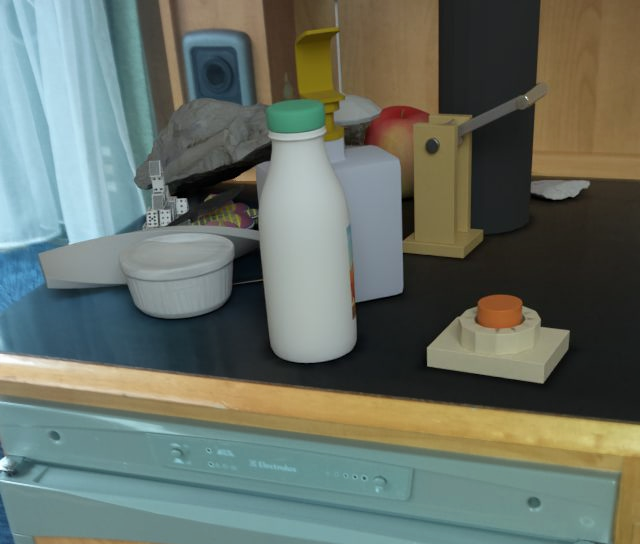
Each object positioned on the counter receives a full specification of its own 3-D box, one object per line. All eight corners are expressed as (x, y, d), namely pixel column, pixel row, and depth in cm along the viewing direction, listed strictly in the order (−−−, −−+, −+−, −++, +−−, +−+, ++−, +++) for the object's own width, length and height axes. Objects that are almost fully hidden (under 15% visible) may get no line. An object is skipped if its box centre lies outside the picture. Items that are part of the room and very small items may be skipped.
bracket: (483, 240, 109) (486, 114, 101) (463, 258, 105) (465, 128, 97) (423, 235, 112) (422, 111, 104) (401, 252, 108) (398, 125, 100)
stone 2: (522, 189, 122) (523, 172, 121) (584, 185, 122) (586, 168, 120) (528, 208, 118) (529, 191, 117) (592, 203, 118) (594, 186, 116)
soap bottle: (286, 318, 94) (260, 41, 81) (266, 295, 100) (238, 31, 86) (406, 295, 97) (400, 22, 83) (380, 274, 102) (371, 14, 89)
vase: (529, 235, 109) (546, -94, 92) (435, 236, 111) (435, -86, 93) (528, 206, 117) (544, -101, 100) (441, 208, 119) (442, -94, 102)
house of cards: (215, 238, 115) (205, 169, 111) (140, 243, 116) (128, 174, 111) (222, 215, 123) (214, 148, 118) (152, 219, 123) (141, 153, 119)
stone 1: (265, 157, 109) (252, 57, 106) (115, 199, 128) (101, 115, 125) (356, 158, 119) (346, 66, 116) (204, 196, 138) (192, 119, 136)
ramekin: (234, 276, 105) (228, 225, 102) (246, 315, 96) (240, 260, 93) (127, 290, 104) (117, 239, 101) (128, 331, 95) (118, 276, 92)
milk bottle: (350, 366, 85) (336, 113, 74) (262, 365, 87) (234, 117, 75) (363, 329, 91) (351, 91, 80) (280, 329, 93) (257, 95, 81)
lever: (552, 98, 98) (543, 73, 97) (532, 112, 94) (523, 87, 93) (446, 148, 105) (437, 125, 104) (424, 163, 101) (415, 140, 100)
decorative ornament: (272, 233, 108) (181, 254, 108) (275, 252, 110) (186, 272, 109) (250, 181, 121) (169, 199, 120) (253, 199, 122) (173, 217, 122)
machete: (247, 186, 112) (250, 192, 113) (237, 177, 114) (239, 182, 115) (133, 257, 111) (136, 262, 112) (124, 246, 113) (128, 251, 114)
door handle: (303, 255, 106) (290, 264, 110) (294, 206, 105) (282, 216, 110) (49, 292, 99) (47, 299, 103) (37, 240, 98) (36, 249, 103)
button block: (568, 349, 85) (571, 309, 83) (543, 383, 80) (545, 342, 78) (457, 334, 89) (457, 296, 87) (426, 366, 84) (426, 327, 82)
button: (527, 317, 83) (528, 296, 82) (513, 333, 81) (514, 313, 80) (486, 312, 85) (486, 292, 84) (470, 328, 82) (471, 308, 81)
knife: (209, 290, 103) (208, 287, 103) (208, 285, 104) (208, 282, 104) (305, 278, 103) (304, 275, 103) (303, 273, 104) (303, 270, 104)
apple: (348, 199, 124) (344, 112, 118) (401, 181, 129) (399, 97, 123) (405, 213, 118) (403, 122, 112) (458, 193, 123) (459, 105, 117)
